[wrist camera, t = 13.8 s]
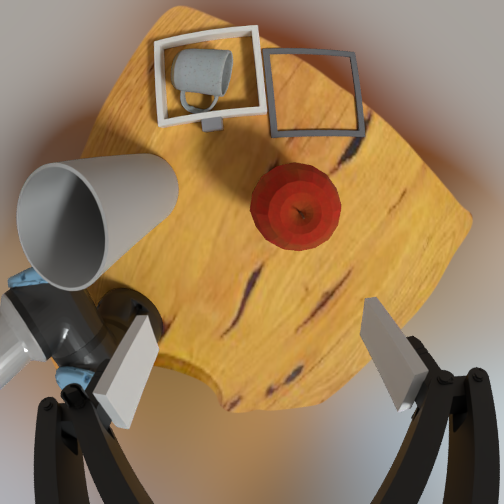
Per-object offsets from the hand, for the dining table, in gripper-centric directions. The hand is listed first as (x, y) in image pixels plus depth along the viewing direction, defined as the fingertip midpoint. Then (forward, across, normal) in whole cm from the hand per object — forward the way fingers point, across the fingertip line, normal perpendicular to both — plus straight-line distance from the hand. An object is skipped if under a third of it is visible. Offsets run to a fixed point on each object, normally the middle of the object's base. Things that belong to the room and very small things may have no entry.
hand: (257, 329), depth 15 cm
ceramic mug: (+32, -6, +22) cm, 39 cm away
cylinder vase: (+32, -18, +6) cm, 37 cm away
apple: (+32, +6, +2) cm, 33 cm away
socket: (+32, -5, +23) cm, 39 cm away
